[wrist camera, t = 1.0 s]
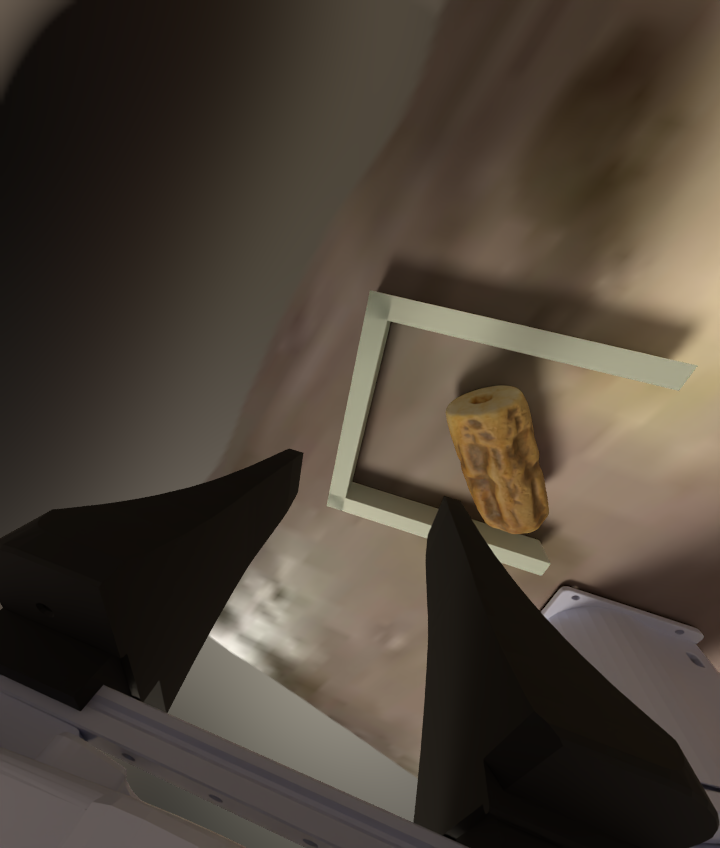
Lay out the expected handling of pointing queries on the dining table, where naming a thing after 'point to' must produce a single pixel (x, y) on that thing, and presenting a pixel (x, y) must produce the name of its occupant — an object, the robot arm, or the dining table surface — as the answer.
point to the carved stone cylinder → (500, 457)
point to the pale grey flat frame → (480, 330)
